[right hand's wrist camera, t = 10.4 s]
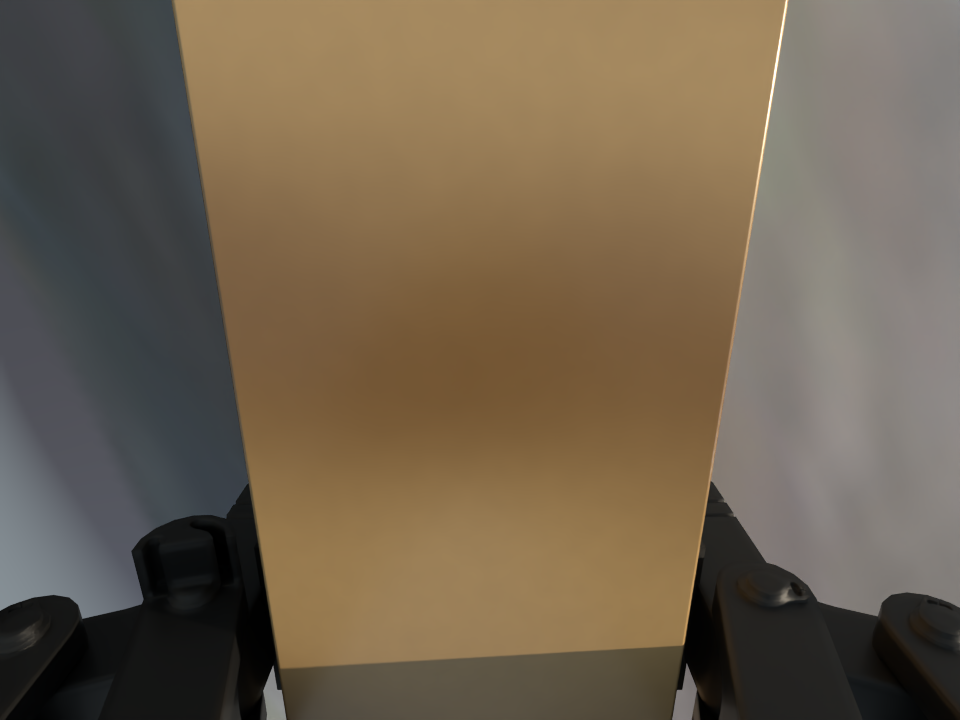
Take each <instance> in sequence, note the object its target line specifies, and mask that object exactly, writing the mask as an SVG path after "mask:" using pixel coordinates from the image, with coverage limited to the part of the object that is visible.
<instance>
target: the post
mask: <svg viewBox="0 0 960 720" xmlns="http://www.w3.org/2000/svg"><path fill="white" fill-rule="evenodd" d="M787 6H788V0H172V7H173V13H174V19H175V25H176V32H177V38H178V44H179V50H180V57H181V63H182V69H183V75H184V82H185V88H186V94H187V100H188V107H189V113H190V119H191V125H192V132H193V138H194V144H195V150H196V157H197V163H198V169H199V175H200V181H201V188H202V194H203V200H204V206H205V213H206V219H207V225H208V231H209V238H210V244H211V250H212V256H213V263H214V269H215V275H216V281H217V288H218V294H219V300H220V306H221V313H222V319H223V325H224V331H225V338H226V344H227V350H228V356H229V363H230V369H231V375H232V381H233V388H234V394H235V400H236V406H237V413H238V419H239V425H240V431H241V438H242V444H243V450H244V456H245V463H246V469H247V475H248V481H249V488H250V494H251V500H252V506H253V513H254V519H255V525H256V531H257V538H258V544H259V550H260V556H261V563H262V569H263V575H264V581H265V588H266V594H267V600H268V606H269V613H270V619H271V625H272V631H273V638H274V644H275V650H276V656H277V663H278V669H279V675H280V681H281V688H282V694H283V700H284V706H285V713H286V719H287V720H672V716H673V710H674V704H675V698H676V692H677V686H678V679H679V673H680V667H681V661H682V655H683V648H684V642H685V636H686V630H687V624H688V618H689V611H690V605H691V599H692V593H693V587H694V580H695V574H696V568H697V562H698V556H699V550H700V543H701V537H702V531H703V525H704V519H705V513H706V506H707V500H708V494H709V488H710V482H711V475H712V469H713V463H714V457H715V451H716V445H717V438H718V432H719V426H720V420H721V414H722V407H723V401H724V395H725V389H726V383H727V377H728V370H729V364H730V358H731V352H732V346H733V339H734V333H735V327H736V321H737V315H738V309H739V302H740V296H741V290H742V284H743V278H744V271H745V265H746V259H747V253H748V247H749V241H750V234H751V228H752V222H753V216H754V210H755V203H756V197H757V191H758V185H759V179H760V173H761V166H762V160H763V154H764V148H765V142H766V135H767V129H768V123H769V117H770V111H771V105H772V98H773V92H774V86H775V80H776V74H777V67H778V61H779V55H780V49H781V43H782V37H783V30H784V24H785V18H786V12H787Z"/></svg>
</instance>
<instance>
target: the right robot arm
mask: <svg viewBox="0 0 960 720" xmlns="http://www.w3.org/2000/svg"><path fill="white" fill-rule="evenodd" d="M132 556H133V559H134V563H135V567H136V571H137V575H138V579H139V583H140V586H141V591H142V595H143V598H144V600H143V603H142V604H141V605H138V606H135V607H131V608H128V609H124V610H120V611H115V612H111V613H107V614H102V615H98V616H93V617H89V618H85V619H82V617H81V613H80V610H79V607H78V605H77V604H76V603H75V602H74V601H73V600H71V599H70V598H68V597H63V596H56V595H50V596H43V597H35V598H31V599H28V600H25V601H22V602H19V603H16V604H13V605H10V606H8V607H7V608H5V609H3V610H1V611H0V720H266V718H267V712H266V705H265V699H264V693H263V690H264V687H265V684H266V682H267V679H268V677H269V674H270V672H271V669H272V666H274V672H275V678H276V684H277V690H282V688H281V681H280V675H279V669H278V663H277V656H276V650H275V644H274V638H273V631H272V625H271V619H270V613H269V606H268V600H267V594H266V588H265V581H264V575H263V569H262V563H261V556H260V550H259V544H258V538H257V531H256V525H255V519H254V513H253V506H252V500H251V494H250V488H249V484H247V485H246V487H245V488H244V490H243V492H242V493H241V495H240V496H239V498H238V499H237V501H236V505H233V507H232V508H231V510H230V511H229V513H228V514H227V518H226V519H225V518H221V517H217V516H213V515H199V516H190V517H186V518H181V519H177V520H174V521H171V522H169V523H167V524H164V525H162V526H160V527H158V528H156V529H154V530H153V531H151V532H150V533H149V534H147V535H146V536H144V537H143V538H142V539H140V541H139V542H138V543H137V545H136V546H135V547H134V549H133V550H132ZM686 663H687V664H688V667H689V670H690V672H691V675H692V677H693V680H694V682H695V685H696V687H697V693H696V699H695V704H694V710H693V716H692V720H960V608H959V607H957V606H955V605H953V604H951V603H949V602H946V601H943V600H941V599H937V598H934V597H931V596H928V595H922V594H914V593H901V594H894V595H891V596H889V597H888V598H887V599H886V600H885V601H883V602H882V605H881V608H880V612H879V615H878V616H873V615H869V614H864V613H860V612H855V611H851V610H847V609H842V608H838V607H834V606H830V605H827V604H823V603H820V602H817V599H816V597H815V596H814V594H813V593H812V591H811V590H810V588H809V587H808V585H806V584H805V583H804V582H803V581H801V580H800V579H799V578H798V577H796V576H795V575H794V574H792V573H790V572H788V571H786V570H784V569H782V568H780V567H778V566H776V565H773V564H769V563H766V561H765V560H764V558H763V557H762V555H761V554H760V552H759V551H758V549H757V548H756V546H755V545H754V543H753V542H752V540H751V539H750V537H749V536H748V534H747V533H746V531H745V530H744V528H743V527H742V525H741V524H740V522H739V521H738V519H737V518H736V517H734V516H733V512H732V511H731V509H730V508H729V506H728V505H727V503H724V499H723V497H722V496H721V494H720V493H719V491H718V490H717V488H716V487H715V485H714V484H713V483H712V482H710V488H709V494H708V500H707V506H706V513H705V519H704V525H703V531H702V537H701V543H700V550H699V556H698V562H697V568H696V574H695V580H694V587H693V593H692V599H691V605H690V611H689V618H688V624H687V630H686V636H685V642H684V648H683V655H682V661H681V667H680V673H679V679H678V686H677V690H682V688H683V682H684V676H685V669H686Z"/></svg>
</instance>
